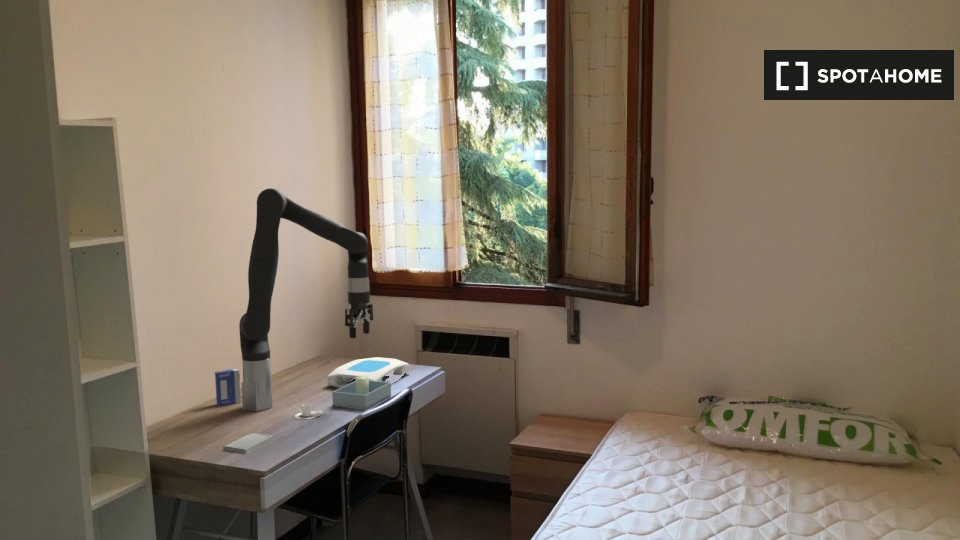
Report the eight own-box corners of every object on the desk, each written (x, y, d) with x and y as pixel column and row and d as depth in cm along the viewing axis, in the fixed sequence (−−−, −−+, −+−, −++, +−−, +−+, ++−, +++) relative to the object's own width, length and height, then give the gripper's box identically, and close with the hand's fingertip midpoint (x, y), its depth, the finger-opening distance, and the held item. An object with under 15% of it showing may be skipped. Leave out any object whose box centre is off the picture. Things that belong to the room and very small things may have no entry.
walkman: (218, 406, 255) (216, 372, 253) (216, 404, 257) (214, 370, 256) (241, 402, 259) (239, 369, 258) (239, 400, 261) (237, 367, 260)
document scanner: (410, 374, 295) (409, 359, 294) (375, 393, 269) (375, 376, 268) (364, 370, 302) (363, 355, 301) (326, 388, 276) (325, 372, 276)
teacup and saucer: (326, 415, 244) (325, 403, 244) (309, 422, 238) (308, 410, 237) (306, 411, 249) (306, 400, 248) (289, 418, 242) (289, 406, 242)
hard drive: (245, 449, 210) (273, 435, 221) (222, 446, 213) (251, 432, 224) (246, 455, 210) (273, 440, 222) (223, 451, 213) (251, 437, 225)
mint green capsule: (363, 401, 256) (363, 380, 255) (353, 399, 258) (352, 378, 257) (371, 397, 260) (371, 377, 259) (360, 395, 262) (360, 375, 261)
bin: (365, 410, 249) (365, 395, 248) (332, 405, 254) (332, 391, 253) (391, 396, 264) (390, 382, 264) (359, 392, 269) (359, 379, 269)
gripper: (356, 293, 248) (357, 340, 250) (378, 287, 261) (379, 332, 262) (337, 292, 251) (339, 338, 252) (360, 286, 264) (361, 331, 265)
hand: (359, 335), depth 257 cm, fingers open, 8 cm apart
